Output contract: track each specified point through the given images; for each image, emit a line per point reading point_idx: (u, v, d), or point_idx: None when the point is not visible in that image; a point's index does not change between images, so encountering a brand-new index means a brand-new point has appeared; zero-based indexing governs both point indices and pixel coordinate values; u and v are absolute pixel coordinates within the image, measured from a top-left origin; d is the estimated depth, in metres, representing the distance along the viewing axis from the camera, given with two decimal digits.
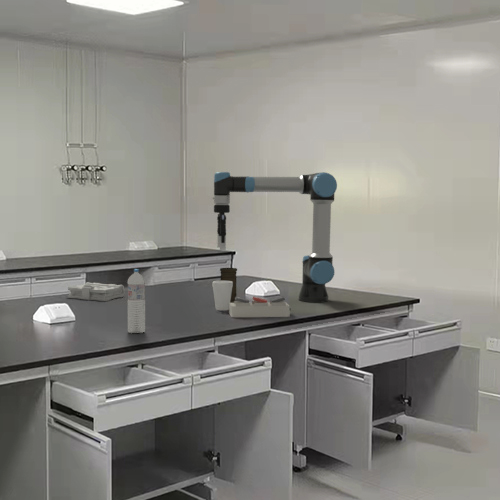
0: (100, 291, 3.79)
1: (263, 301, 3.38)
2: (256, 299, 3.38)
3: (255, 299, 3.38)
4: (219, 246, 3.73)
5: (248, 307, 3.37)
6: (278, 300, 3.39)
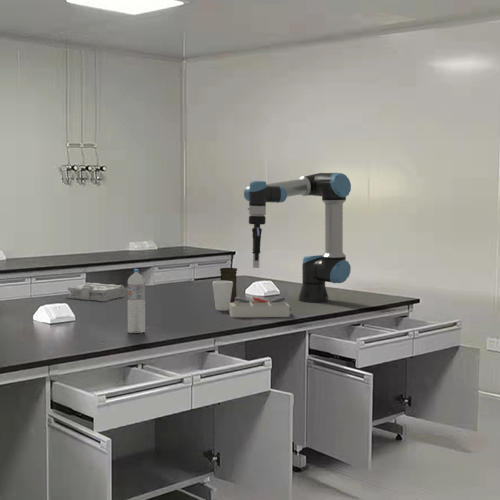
0: (99, 291, 3.78)
1: (263, 301, 3.38)
2: (256, 299, 3.38)
3: (255, 299, 3.38)
4: None
5: (248, 307, 3.37)
6: (278, 300, 3.39)
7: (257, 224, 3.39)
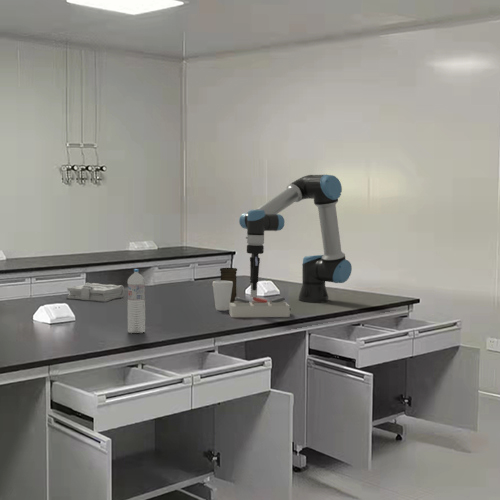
0: (99, 291, 3.77)
1: (263, 301, 3.38)
2: (256, 299, 3.38)
3: (255, 299, 3.38)
4: None
5: (248, 307, 3.37)
6: (278, 300, 3.39)
7: (255, 253, 3.34)
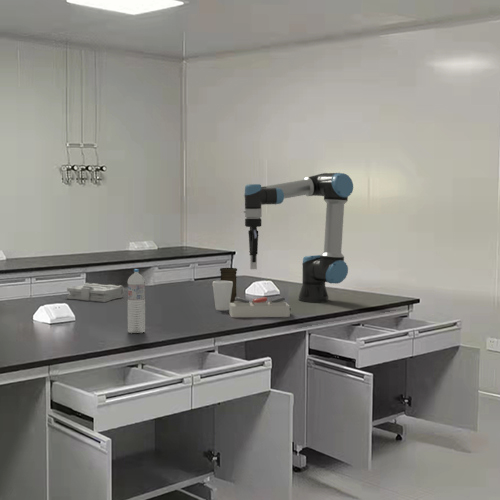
0: (100, 292, 3.76)
1: (263, 300, 3.38)
2: (256, 301, 3.38)
3: (255, 301, 3.38)
4: None
5: (248, 307, 3.37)
6: (278, 300, 3.39)
7: (254, 227, 3.45)
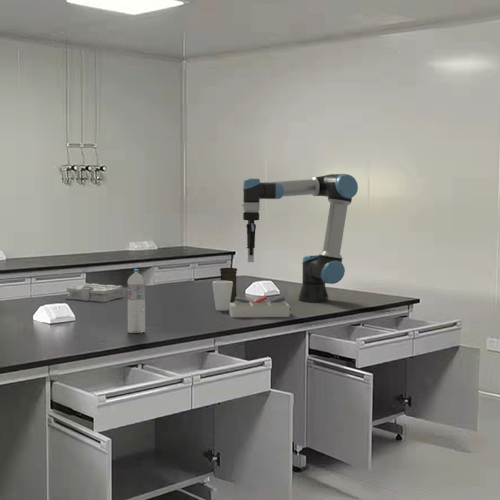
0: (100, 292, 3.76)
1: (263, 299, 3.38)
2: (256, 302, 3.38)
3: (255, 302, 3.38)
4: None
5: (248, 307, 3.37)
6: (278, 300, 3.39)
7: (251, 220, 3.51)
